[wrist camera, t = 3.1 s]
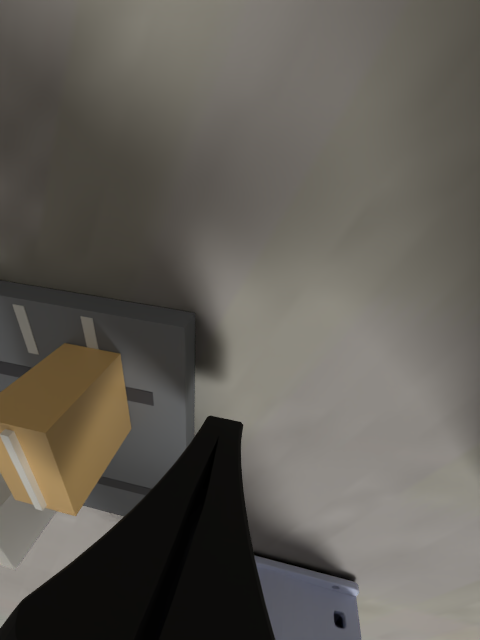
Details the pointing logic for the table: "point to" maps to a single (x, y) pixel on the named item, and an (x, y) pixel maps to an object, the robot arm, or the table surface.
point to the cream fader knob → (18, 527)
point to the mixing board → (138, 369)
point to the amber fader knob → (63, 427)
